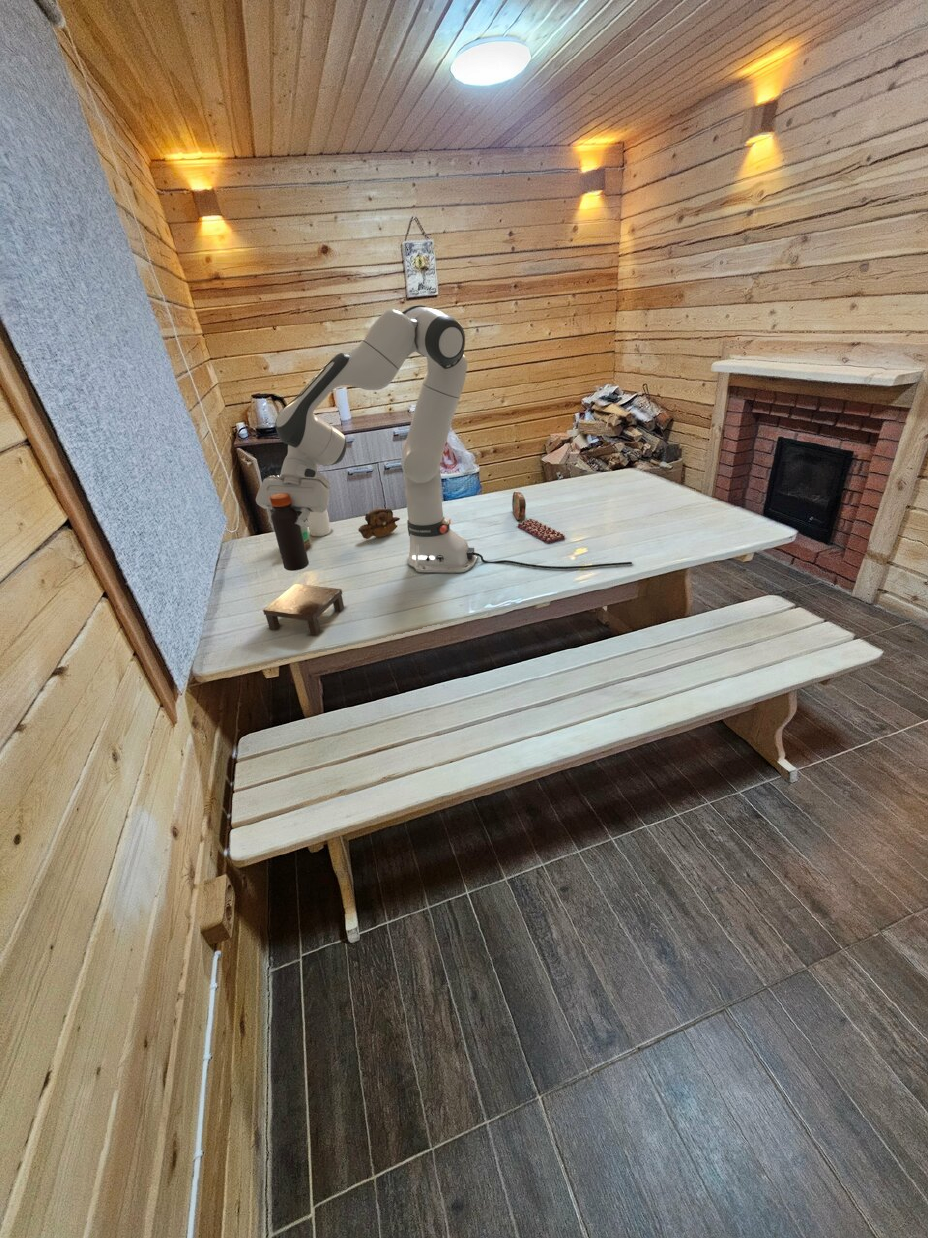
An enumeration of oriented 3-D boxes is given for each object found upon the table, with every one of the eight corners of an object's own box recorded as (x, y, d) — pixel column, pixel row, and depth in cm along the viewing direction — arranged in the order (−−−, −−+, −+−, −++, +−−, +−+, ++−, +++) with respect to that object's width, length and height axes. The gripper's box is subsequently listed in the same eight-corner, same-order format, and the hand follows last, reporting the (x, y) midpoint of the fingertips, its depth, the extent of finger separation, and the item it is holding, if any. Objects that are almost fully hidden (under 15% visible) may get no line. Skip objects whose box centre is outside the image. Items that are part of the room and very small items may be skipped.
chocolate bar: (532, 522, 195) (533, 517, 194) (564, 538, 180) (564, 533, 179) (516, 526, 192) (516, 521, 191) (547, 543, 178) (547, 537, 177)
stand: (345, 607, 147) (341, 589, 144) (317, 636, 135) (312, 616, 132) (299, 602, 151) (295, 583, 148) (268, 629, 139) (262, 609, 136)
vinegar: (278, 569, 142) (260, 498, 132) (294, 559, 148) (277, 490, 137) (299, 572, 140) (281, 501, 130) (314, 562, 145) (298, 492, 135)
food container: (303, 556, 179) (297, 529, 174) (287, 555, 180) (280, 528, 175) (319, 542, 189) (313, 515, 184) (303, 541, 190) (297, 515, 185)
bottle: (313, 538, 193) (295, 456, 177) (308, 531, 199) (290, 451, 183) (334, 533, 196) (318, 452, 180) (328, 527, 202) (312, 448, 186)
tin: (511, 509, 208) (511, 488, 203) (519, 509, 208) (519, 488, 204) (518, 523, 195) (518, 501, 191) (526, 522, 195) (526, 500, 191)
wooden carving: (366, 544, 185) (361, 517, 180) (359, 541, 188) (354, 514, 183) (403, 531, 194) (400, 505, 189) (396, 528, 197) (393, 502, 192)
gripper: (258, 469, 140) (244, 516, 137) (324, 472, 134) (311, 521, 131) (272, 480, 146) (259, 526, 143) (336, 484, 140) (324, 531, 137)
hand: (285, 524), depth 137 cm, fingers closed on vinegar, 6 cm apart
